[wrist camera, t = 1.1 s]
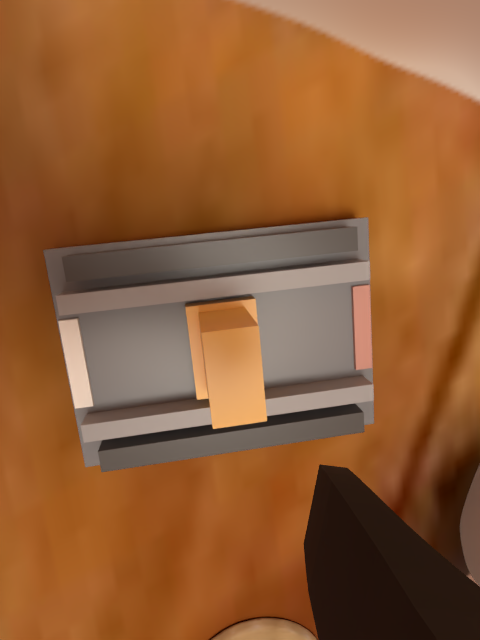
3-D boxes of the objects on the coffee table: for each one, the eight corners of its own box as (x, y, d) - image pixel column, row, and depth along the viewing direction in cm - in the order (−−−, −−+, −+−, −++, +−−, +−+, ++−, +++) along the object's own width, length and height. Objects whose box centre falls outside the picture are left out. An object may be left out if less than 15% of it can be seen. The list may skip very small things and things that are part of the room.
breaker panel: (92, 450, 21) (79, 481, 19) (53, 248, 19) (33, 251, 17) (362, 411, 23) (384, 434, 20) (355, 218, 21) (379, 216, 18)
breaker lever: (196, 393, 20) (199, 438, 16) (185, 303, 19) (185, 325, 15) (260, 384, 20) (281, 426, 16) (252, 295, 19) (272, 315, 15)
